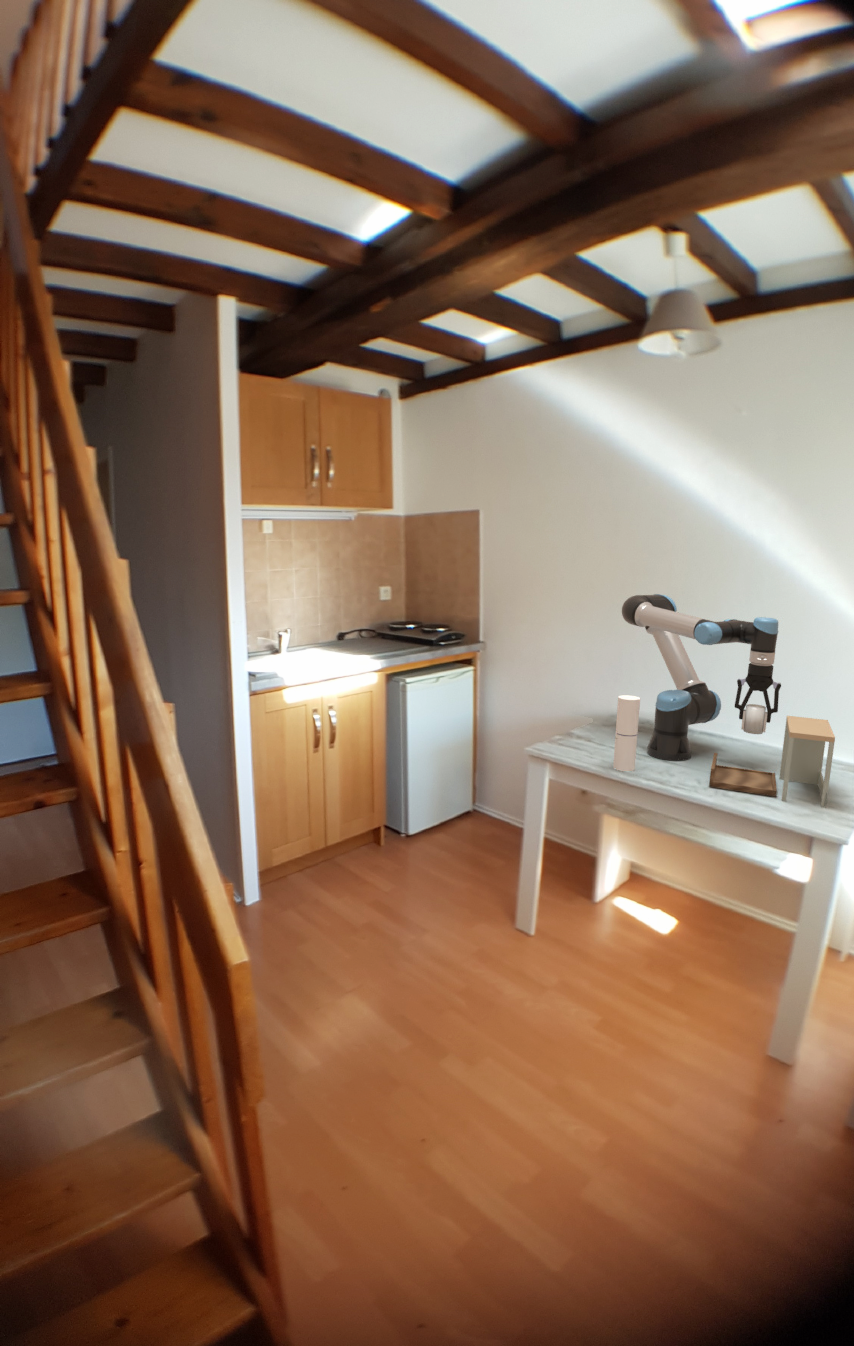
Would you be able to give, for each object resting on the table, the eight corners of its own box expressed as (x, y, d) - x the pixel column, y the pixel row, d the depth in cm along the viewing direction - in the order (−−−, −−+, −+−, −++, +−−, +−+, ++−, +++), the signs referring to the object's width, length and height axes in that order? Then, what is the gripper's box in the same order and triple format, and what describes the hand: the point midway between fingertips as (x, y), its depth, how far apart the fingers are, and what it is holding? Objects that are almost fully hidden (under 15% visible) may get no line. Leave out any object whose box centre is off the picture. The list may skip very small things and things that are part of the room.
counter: (781, 800, 204) (789, 732, 200) (779, 778, 224) (786, 715, 220) (825, 807, 199) (835, 737, 195) (819, 784, 219) (827, 720, 215)
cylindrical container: (623, 773, 227) (628, 700, 222) (608, 766, 233) (613, 696, 228) (639, 770, 230) (644, 698, 225) (624, 764, 236) (629, 694, 231)
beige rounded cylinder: (743, 732, 230) (746, 707, 228) (743, 728, 235) (746, 703, 233) (762, 735, 227) (765, 709, 226) (762, 730, 233) (765, 705, 231)
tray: (709, 786, 214) (710, 768, 213) (712, 769, 231) (714, 752, 230) (776, 796, 206) (778, 778, 205) (774, 778, 223) (776, 761, 221)
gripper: (730, 662, 227) (722, 728, 232) (793, 668, 219) (784, 736, 224) (730, 659, 234) (723, 723, 238) (792, 664, 226) (783, 731, 231)
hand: (753, 729), depth 231 cm, fingers closed on beige rounded cylinder, 6 cm apart
